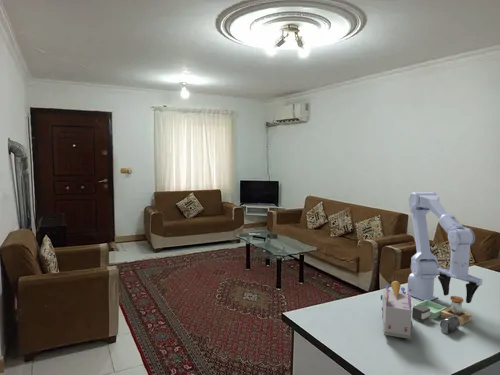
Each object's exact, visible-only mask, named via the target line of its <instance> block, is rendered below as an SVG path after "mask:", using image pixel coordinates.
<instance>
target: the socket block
mask: <svg viewBox="0 0 500 375" xmlns="http://www.w3.org/2000/svg"><path fill="white" fill-rule="evenodd" d="M451 315H454V314H451V306H449V307H447V309H445V310H443V311H441V316H440V318H442V319H443V320H444V319H446V318H448V317H451ZM454 316H456V315H454ZM457 317H459V316H457ZM471 319H472V314H471V313H469V312H467V311H464V310H461V316H460V317H459V322H460V326H462V325H465V324H466V323H468V322H469V321H471Z"/></svg>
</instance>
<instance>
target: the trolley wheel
mask: <svg viewBox="0 0 500 375" xmlns="http://www.w3.org/2000/svg"><path fill="white" fill-rule="evenodd" d="M439 326H440V332H441V333H443V334H446V335H449V333H451V332H453V331H455V330H457V329H459V328H460V326H461V325H460V322H459V317H457V316H454V315H451V317H448V318H446V319H444V318H443V319H442V320H441V321H440V322H439Z"/></svg>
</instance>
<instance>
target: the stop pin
mask: <svg viewBox="0 0 500 375" xmlns="http://www.w3.org/2000/svg"><path fill="white" fill-rule="evenodd" d="M450 300H451V303H450V304H451V306H450V307H451V314H454V315H456V316H459V317H460V316H461V311H462V310H463V309H462V308H463V307H462V304H463V303H464V298H463V297H460V296H457V295H451V296H450Z"/></svg>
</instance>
